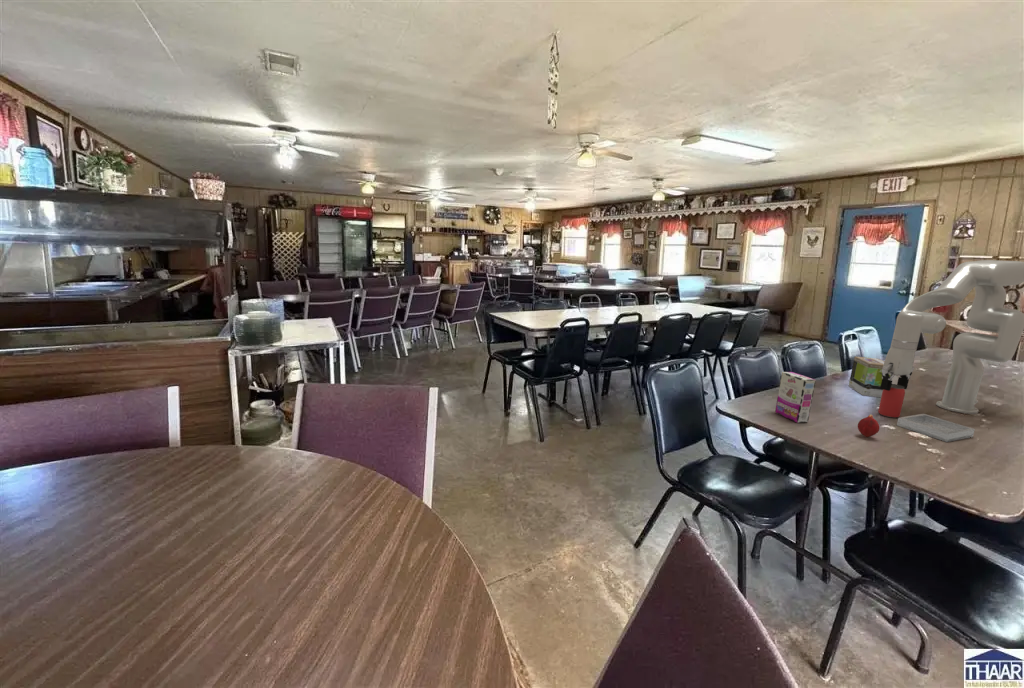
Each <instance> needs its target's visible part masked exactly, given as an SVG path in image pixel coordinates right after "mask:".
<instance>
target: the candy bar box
mask: <svg viewBox="0 0 1024 688" xmlns="http://www.w3.org/2000/svg"><path fill="white" fill-rule="evenodd" d="M779 381H780V382H779V386H778V393H777V399H776V405H775V411H774V413H775V412H776V413H775V414H777V413H778V414H777V415H779V414H780V416H781V415H782V417H784V418H785V419H788V420H791V421H792V422H794V423H797V424H805V423H804V422H807V423H809V418H810V413H811V407H812V404H813V403H812V401H813V397H814V391H815V387H816V383H817V380H816V379H814V378H811V377H809V376H806V375H802V374H800V373H796V372H793V371H782V372H781V375H780V380H779Z"/></svg>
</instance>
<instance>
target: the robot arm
mask: <svg viewBox="0 0 1024 688" xmlns="http://www.w3.org/2000/svg"><path fill="white" fill-rule="evenodd" d="M1023 283H1024V261H1020V260H1019V261H1018V260H1017V261H1016V260H998V259H997V260H994V259H993V260H992V259H981V260H974V261H973V260H972V261H965V262H962V263H960V264H958V266H956V267H955V269H953V271H951V273H949V275H948V277H946V279H945V280H944V281H943V282H942V283H941V284H940V285H939V286H938V287H937V288H936V289H933V290H931V291H928V292H924V294H921V295H918V296H916V297H914V298H913V299H912V300H910V301H909V302H907V304H906V305H905V306H904V307H903V308H902V309H901V310H900V311H899V313H898V314H897V316H896V320H895V321H896V323H895V326H894V330H893V335H892V339H891V343H890V348H889V349H888V351H887V354H886V356H885V359H884V361H885V362H884V365H883V368H882V382H881V386H880V388H881V389H884V390H887V391H890V389H891V385H892V384H893V379H894V377H895V376H897V377H898V376H899V377H898V378H897V384H896V385H901V386H903V387H905V388H904V390H907V389H908V386H909V382H910V379H911V376H912V374H913V371H914V370H915V366H914V362H915V355H916V352H917V349H918V345H919V341H920V337H921V333H922V334H923V333H925V334H929V335H933V334H938V333H940V332H942V331H943V330H944V329H945V328H946V326H947V321H946V318H945V317H944V316H942V315H941V314H937V313H933V312H925V311H927V310H930V309H934V308H937V307H944V306H945V307H946V306H950V305H955V304H959V303H962V301H963V300H964V299H965V298H966V297H967V296H968V295H969V293H971V291H972V290H973V289H975V293H974V294H975V295H974V299H973V301H972V304H971V306H970V310H969V312H968V315H967V319H966V324H967V326H968V327H969V328H971V329H974V330H979V331H985V332H990V333H996V334H998V336H995V335H990V334H983V333H979V332H970V331H968V332H963V333H962V332H961V333H959V334H957V335H956V336H955V337H954V339H953V343H952V359H951V365H950V368H949V369H950V370H949V372H948V376H947V379H946V384H945V387H944V393H943V396H942V400H938V401H936V406H937V407H939V408H941V409H944V410H948V411H951V412H955V413H962V414H970V415H974V414H978V413H979V408H977V407H975V405H976V404H979V400H978V399H977V398H978V393H979V389H980V386H981V382H982V379H983V375H984V370H985V368H984V364H983V362H982V361H981V360H986V361H990V362H996V363H1005V362H1009V361H1010V360H1011V359H1012V358H1013V357H1014V355H1015V353H1016V350H1017V349H1018V346H1019V343H1020V341H1021V339H1022V338H1021V337H1022V335H1023V332H1024V313H1023V312H1022V311H1021V310H1018V309H1013V308H1005V307H1004V305H1005V302H1006V298H1007V292H1006V289H1005V288H1004V287H1005V286H1008V287H1009V286H1017V285H1021V284H1023ZM889 375H890V376H889Z"/></svg>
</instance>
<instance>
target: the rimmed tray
mask: <svg viewBox="0 0 1024 688" xmlns="http://www.w3.org/2000/svg"><path fill="white" fill-rule="evenodd" d="M896 426H898V427H899V428H900V427H901V428H904V429H905V430H909V431H912V432H916V433H918V434H919V435H924V436H927V437H930V438H933V439H936V440H938V441H941V440H942V441H941V442H944V443H951V442H956V441H961V440H965V439H971V438H973V437H974V435H975V428H973V427H970V426H966V425H962V424H960V423H955V422H953V421H950V420H946V419H943V418H941V417H940V418H939V417H935V416H932V415H929V414H926V413H920V414H913V415H908V416H902V417H900V416H899V417H898V418H897V423H896ZM970 437H971V438H970Z"/></svg>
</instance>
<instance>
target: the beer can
mask: <svg viewBox="0 0 1024 688" xmlns="http://www.w3.org/2000/svg"><path fill="white" fill-rule="evenodd" d="M904 388H905V387H903V386H901V385H897V384H895V383H892V385H891V389H890V391H887V390H884V389H883V392H882V397H880V401H879V406H878V412H877V413H878V414H879V415H881V416H883V417H886V418H892V419H898V418H900V416H901V413H902V408H903V404H904V400H905V395H906V389H904Z"/></svg>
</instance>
